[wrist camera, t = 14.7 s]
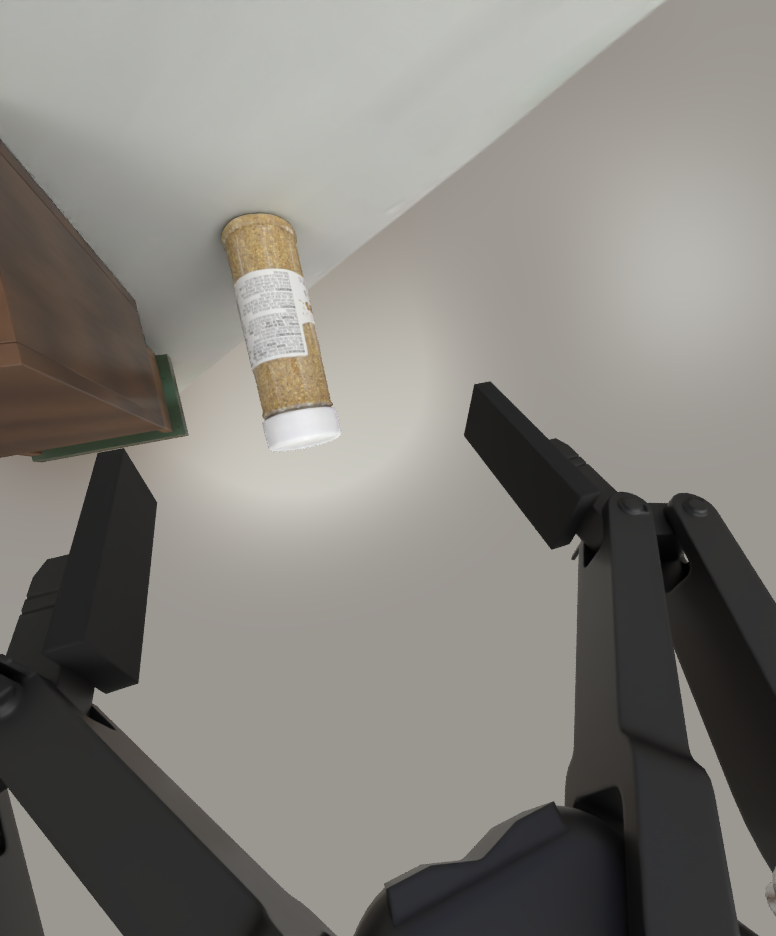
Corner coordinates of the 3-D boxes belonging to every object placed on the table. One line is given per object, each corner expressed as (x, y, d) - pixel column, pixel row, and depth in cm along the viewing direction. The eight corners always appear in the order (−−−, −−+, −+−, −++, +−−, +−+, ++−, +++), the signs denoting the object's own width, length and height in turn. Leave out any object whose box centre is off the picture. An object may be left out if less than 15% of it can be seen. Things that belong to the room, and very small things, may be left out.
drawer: (186, 374, 43) (201, 441, 43) (58, 392, 40) (76, 465, 40) (100, 282, 24) (129, 406, 24) (-164, 304, 20) (-128, 447, 20)
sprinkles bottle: (294, 252, 26) (337, 442, 27) (224, 257, 25) (270, 456, 25) (295, 205, 22) (347, 434, 22) (211, 209, 21) (267, 450, 21)
